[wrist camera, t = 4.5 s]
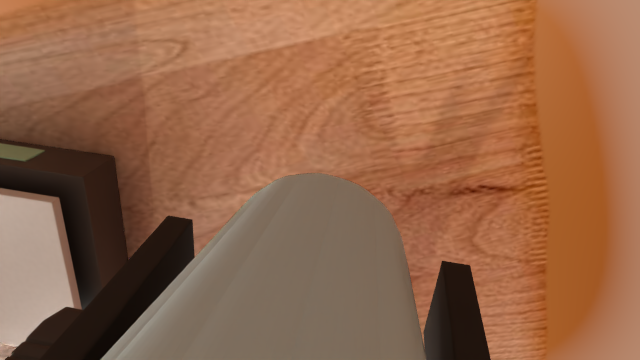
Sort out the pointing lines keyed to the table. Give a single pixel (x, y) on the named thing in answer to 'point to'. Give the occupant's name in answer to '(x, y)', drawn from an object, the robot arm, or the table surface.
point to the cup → (289, 284)
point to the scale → (54, 233)
